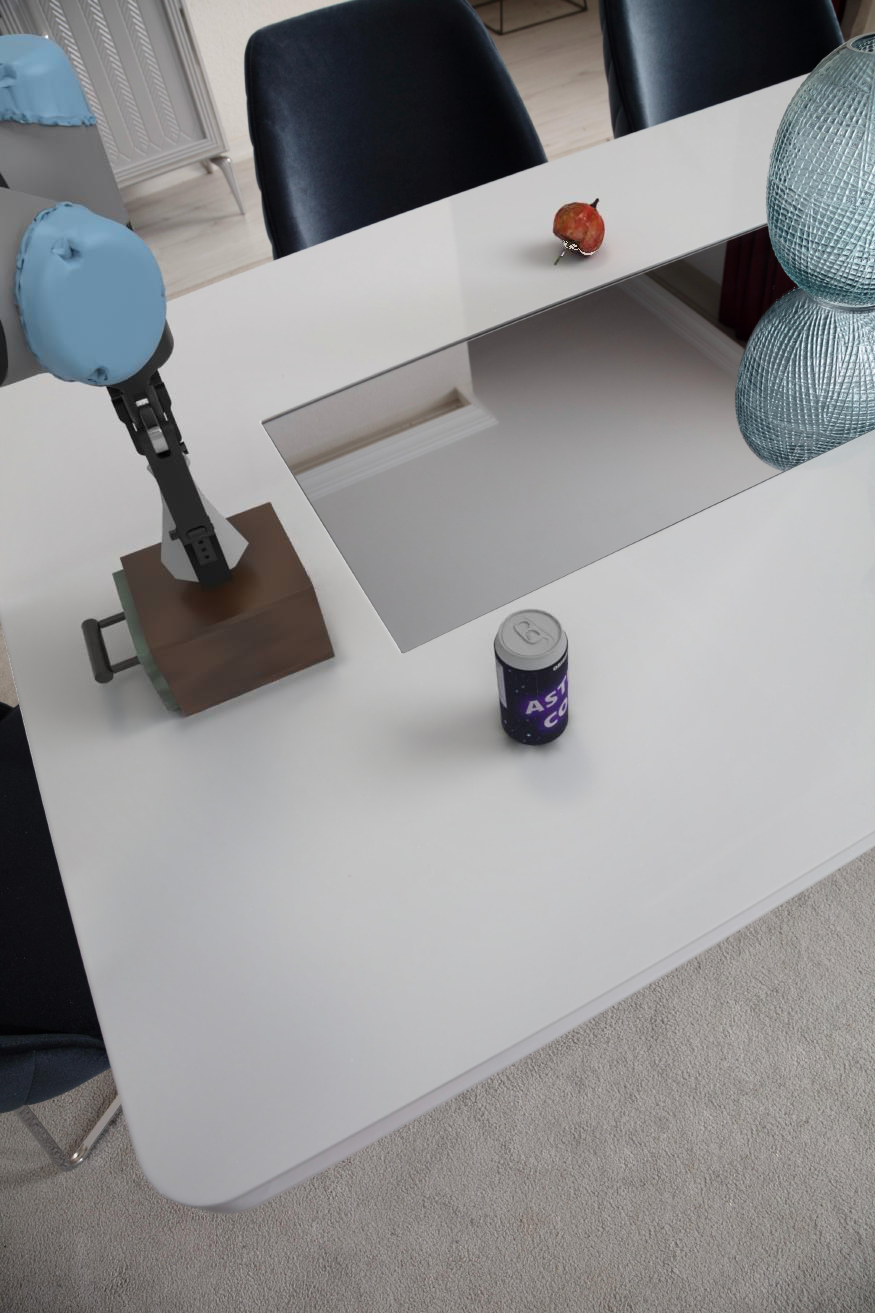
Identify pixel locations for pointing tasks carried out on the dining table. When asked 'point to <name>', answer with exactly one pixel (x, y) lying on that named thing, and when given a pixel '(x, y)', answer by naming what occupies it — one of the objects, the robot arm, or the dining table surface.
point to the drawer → (100, 655)
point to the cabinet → (230, 617)
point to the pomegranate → (579, 227)
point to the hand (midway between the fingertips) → (204, 552)
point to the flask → (174, 550)
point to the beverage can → (532, 676)
